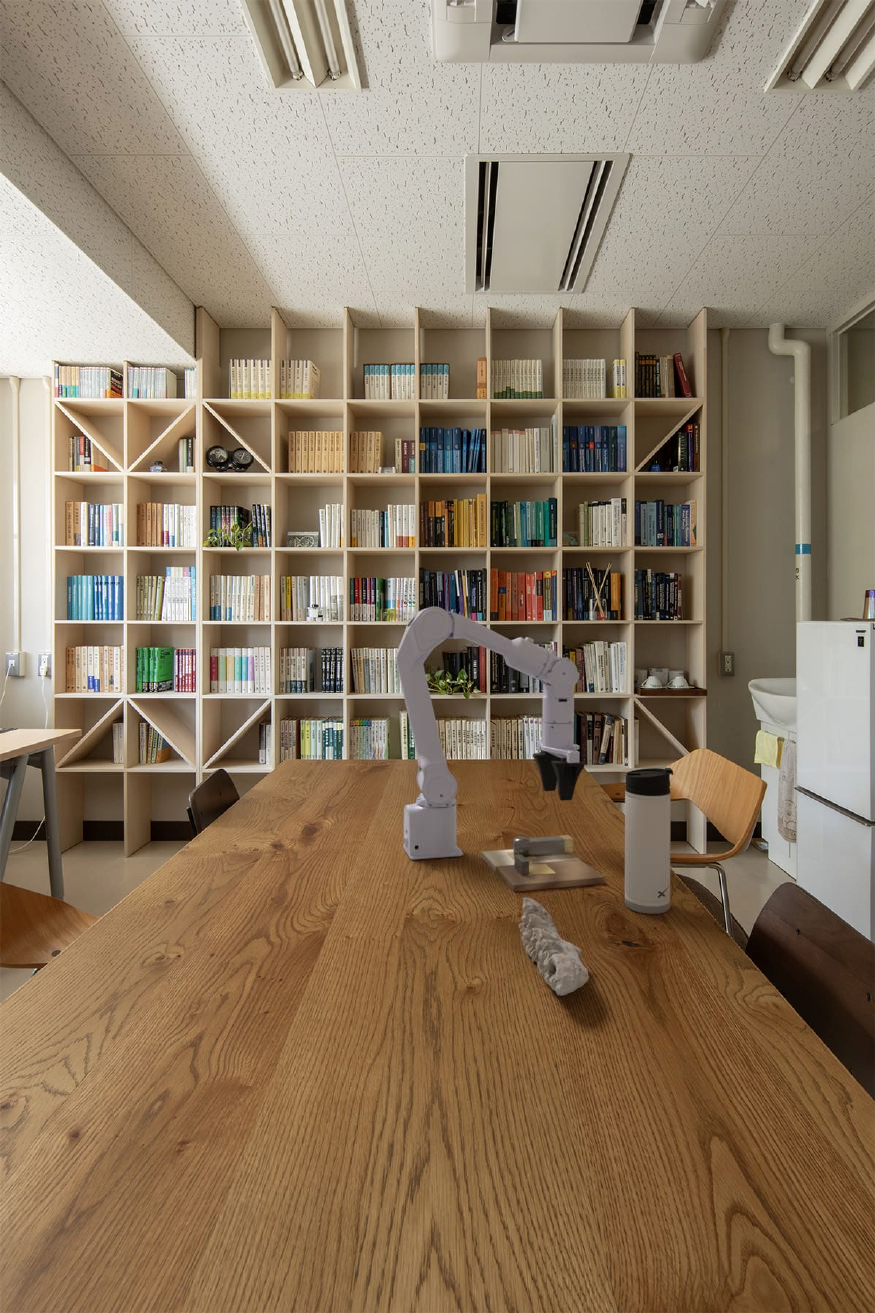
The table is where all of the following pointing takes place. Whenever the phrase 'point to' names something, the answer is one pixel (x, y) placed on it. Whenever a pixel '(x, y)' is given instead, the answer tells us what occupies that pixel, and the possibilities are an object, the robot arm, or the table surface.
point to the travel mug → (647, 840)
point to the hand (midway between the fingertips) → (557, 795)
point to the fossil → (551, 950)
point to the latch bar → (542, 845)
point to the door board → (541, 870)
